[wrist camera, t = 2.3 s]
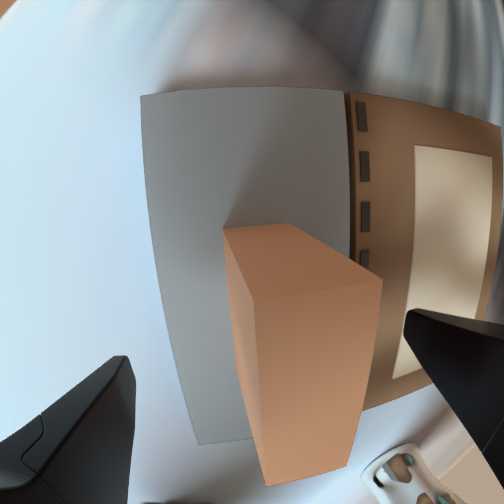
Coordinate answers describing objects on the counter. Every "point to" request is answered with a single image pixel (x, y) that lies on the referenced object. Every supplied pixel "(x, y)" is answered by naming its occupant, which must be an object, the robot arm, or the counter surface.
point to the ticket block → (421, 221)
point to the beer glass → (405, 479)
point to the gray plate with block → (261, 269)
